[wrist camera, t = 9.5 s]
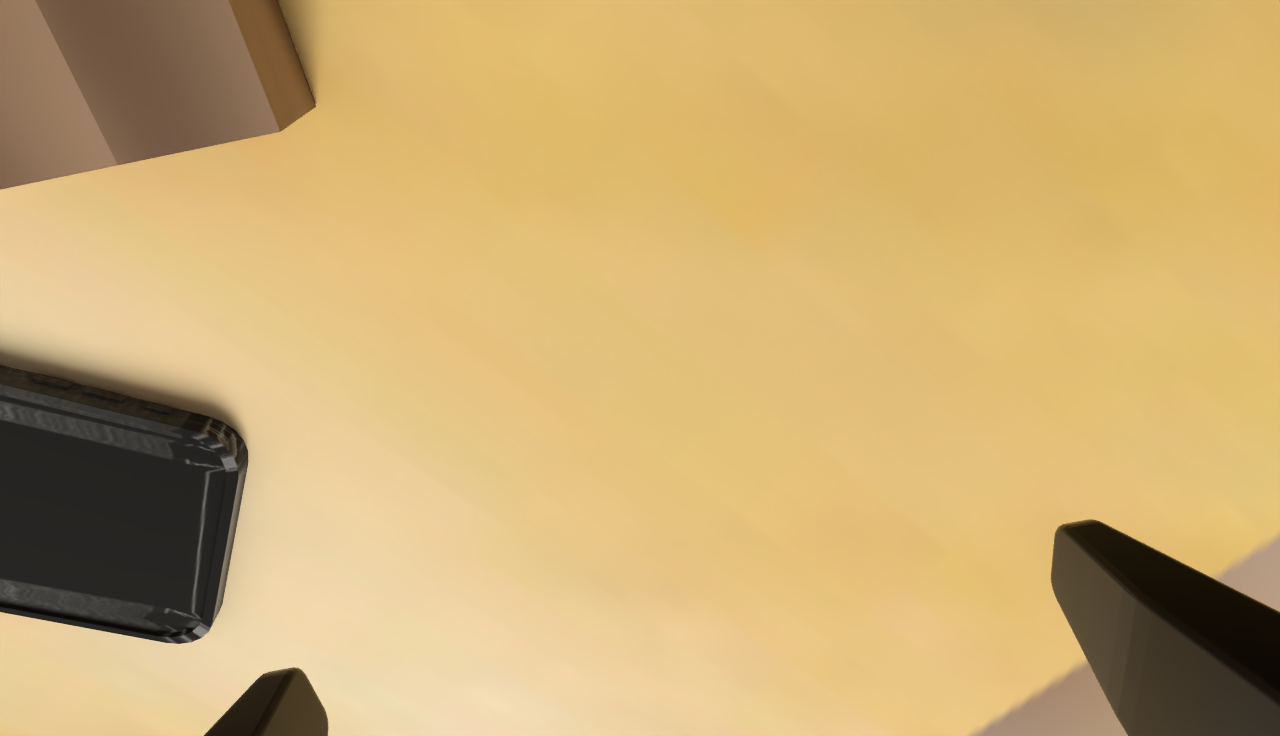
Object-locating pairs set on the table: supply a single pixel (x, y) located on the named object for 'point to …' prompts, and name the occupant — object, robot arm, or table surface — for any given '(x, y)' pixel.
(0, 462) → the phone
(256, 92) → the walnut square frame
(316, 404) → the table surface
